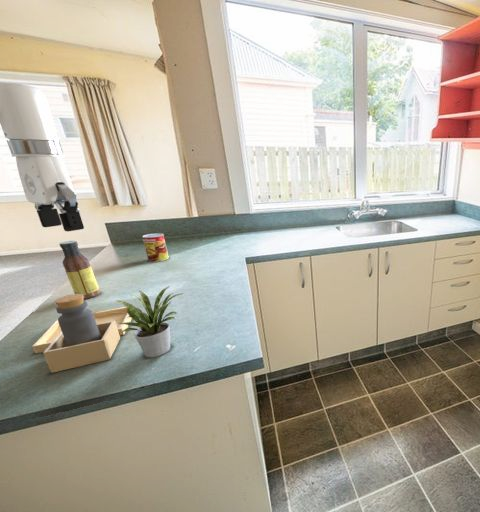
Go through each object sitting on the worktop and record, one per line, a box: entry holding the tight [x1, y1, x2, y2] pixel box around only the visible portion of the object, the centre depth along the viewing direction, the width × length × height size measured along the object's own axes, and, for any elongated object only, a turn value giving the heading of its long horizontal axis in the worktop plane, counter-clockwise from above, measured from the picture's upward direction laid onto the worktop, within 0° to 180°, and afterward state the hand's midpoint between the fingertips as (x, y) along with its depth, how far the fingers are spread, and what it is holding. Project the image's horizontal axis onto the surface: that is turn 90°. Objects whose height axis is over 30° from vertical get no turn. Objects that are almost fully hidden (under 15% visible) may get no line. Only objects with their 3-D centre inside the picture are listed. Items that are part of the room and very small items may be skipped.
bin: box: [42, 321, 121, 374], centre depth 73 cm, size 10×10×5 cm
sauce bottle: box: [59, 240, 101, 300], centre depth 101 cm, size 6×6×20 cm
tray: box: [31, 306, 133, 355], centre depth 83 cm, size 17×15×2 cm
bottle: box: [54, 293, 101, 347], centre depth 71 cm, size 6×6×15 cm
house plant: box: [111, 285, 185, 358], centre depth 73 cm, size 14×14×16 cm
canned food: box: [142, 232, 170, 263], centre depth 140 cm, size 8×8×12 cm
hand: (63, 228), depth 68 cm, fingers open, 9 cm apart
